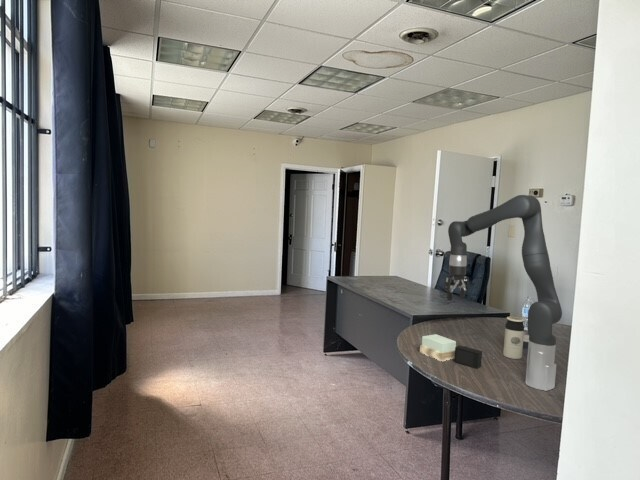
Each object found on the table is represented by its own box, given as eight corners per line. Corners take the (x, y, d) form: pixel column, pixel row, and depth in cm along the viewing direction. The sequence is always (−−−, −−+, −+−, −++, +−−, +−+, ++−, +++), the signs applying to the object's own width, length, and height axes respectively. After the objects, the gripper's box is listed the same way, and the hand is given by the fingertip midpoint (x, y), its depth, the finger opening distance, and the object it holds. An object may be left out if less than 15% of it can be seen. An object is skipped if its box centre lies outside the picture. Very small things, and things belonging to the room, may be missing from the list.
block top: (455, 350, 190) (456, 341, 190) (441, 353, 185) (442, 344, 185) (435, 342, 200) (435, 334, 200) (421, 344, 196) (422, 336, 195)
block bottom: (457, 358, 191) (458, 350, 190) (441, 362, 185) (442, 353, 184) (435, 350, 201) (436, 342, 201) (419, 353, 196) (420, 345, 195)
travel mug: (503, 352, 201) (506, 315, 200) (522, 355, 197) (525, 318, 196) (502, 357, 194) (505, 319, 193) (521, 360, 190) (524, 321, 189)
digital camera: (482, 366, 182) (483, 350, 181) (477, 369, 177) (478, 353, 177) (459, 359, 188) (460, 344, 188) (454, 362, 184) (455, 347, 184)
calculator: (532, 335, 221) (533, 341, 207) (532, 343, 221) (532, 350, 207) (509, 331, 226) (509, 337, 212) (509, 339, 226) (508, 346, 212)
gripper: (454, 266, 186) (452, 302, 187) (474, 265, 194) (472, 299, 195) (440, 264, 192) (439, 299, 193) (461, 263, 200) (459, 296, 201)
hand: (456, 299), depth 194 cm, fingers open, 8 cm apart
